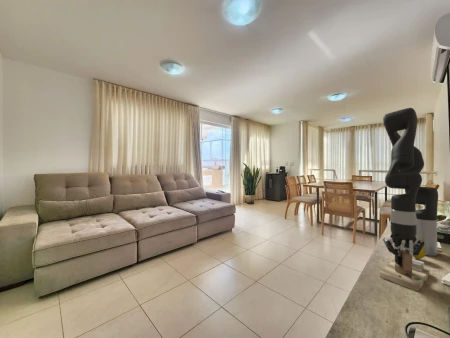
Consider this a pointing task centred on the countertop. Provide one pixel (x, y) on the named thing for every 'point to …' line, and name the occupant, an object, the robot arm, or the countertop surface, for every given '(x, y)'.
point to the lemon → (420, 254)
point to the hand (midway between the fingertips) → (403, 264)
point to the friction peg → (405, 264)
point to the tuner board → (417, 275)
